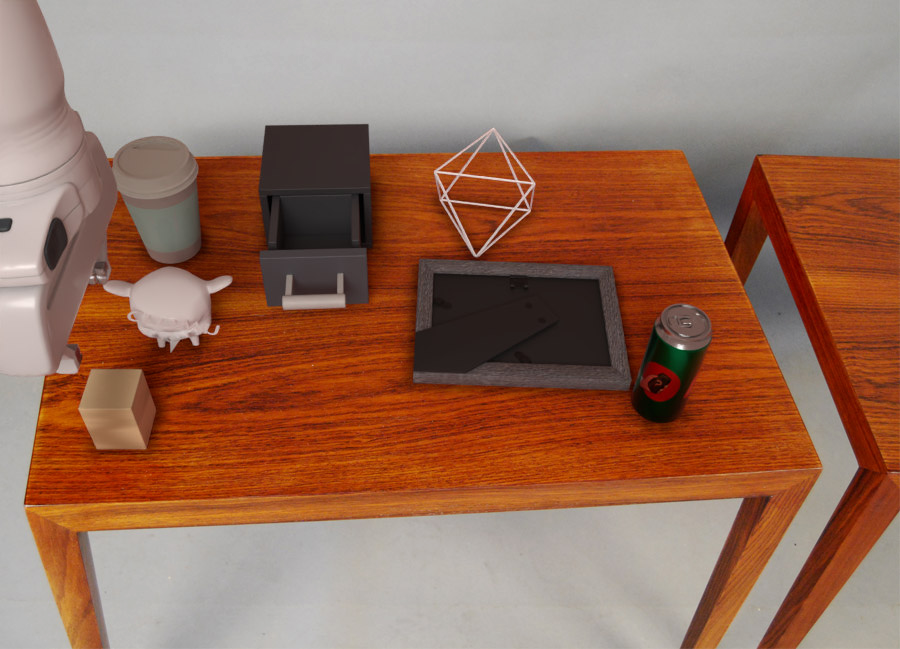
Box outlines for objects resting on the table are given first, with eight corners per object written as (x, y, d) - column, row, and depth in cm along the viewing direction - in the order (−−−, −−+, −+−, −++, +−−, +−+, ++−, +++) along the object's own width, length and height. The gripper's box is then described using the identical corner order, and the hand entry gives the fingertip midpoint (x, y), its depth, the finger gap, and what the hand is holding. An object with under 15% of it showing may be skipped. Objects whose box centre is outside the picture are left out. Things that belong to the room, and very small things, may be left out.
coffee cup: (230, 239, 96) (212, 151, 87) (175, 283, 91) (150, 194, 82) (174, 211, 99) (151, 123, 90) (117, 252, 94) (88, 163, 85)
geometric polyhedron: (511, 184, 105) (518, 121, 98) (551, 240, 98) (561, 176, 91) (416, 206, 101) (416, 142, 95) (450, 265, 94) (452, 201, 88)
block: (96, 449, 76) (77, 409, 72) (108, 409, 79) (91, 368, 75) (146, 449, 77) (131, 409, 72) (156, 410, 80) (142, 368, 75)
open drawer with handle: (369, 334, 86) (367, 286, 81) (264, 338, 85) (256, 289, 80) (367, 236, 96) (365, 188, 91) (273, 238, 95) (265, 190, 90)
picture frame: (413, 383, 83) (628, 390, 84) (413, 369, 82) (632, 377, 82) (419, 268, 94) (609, 276, 94) (419, 255, 92) (612, 263, 93)
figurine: (128, 323, 89) (105, 372, 80) (114, 248, 85) (88, 292, 76) (246, 317, 90) (235, 366, 82) (237, 244, 86) (225, 286, 78)
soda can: (687, 427, 81) (722, 343, 72) (634, 426, 81) (662, 342, 72) (676, 385, 84) (709, 300, 75) (625, 384, 84) (652, 299, 75)
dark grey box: (372, 248, 96) (370, 187, 90) (267, 251, 95) (258, 189, 89) (370, 183, 104) (368, 123, 97) (273, 185, 103) (265, 125, 96)
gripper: (25, 93, 64) (78, 232, 74) (-78, 286, 50) (4, 425, 61) (111, 94, 64) (152, 232, 75) (31, 286, 51) (95, 424, 61)
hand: (85, 320), depth 68 cm, fingers open, 8 cm apart
